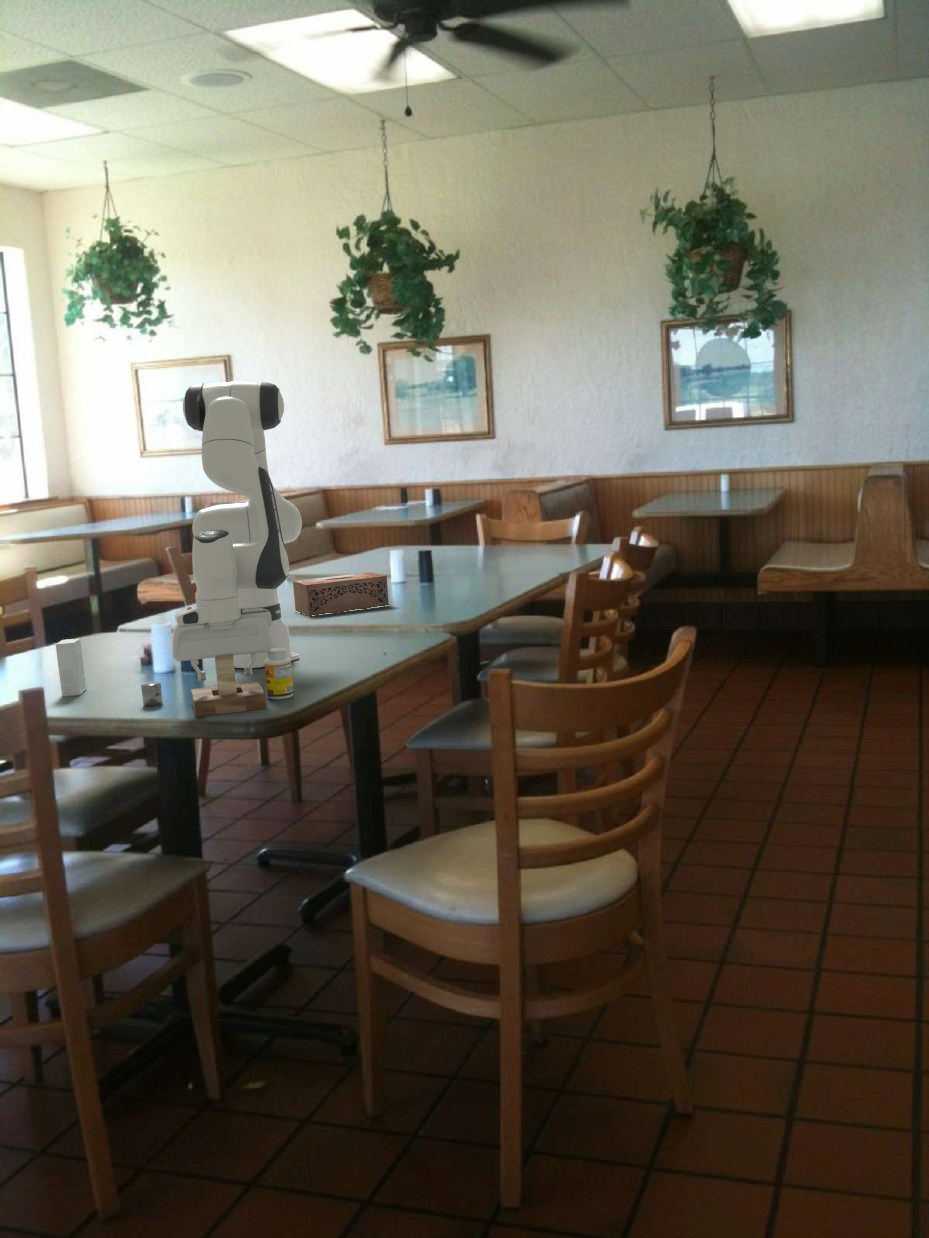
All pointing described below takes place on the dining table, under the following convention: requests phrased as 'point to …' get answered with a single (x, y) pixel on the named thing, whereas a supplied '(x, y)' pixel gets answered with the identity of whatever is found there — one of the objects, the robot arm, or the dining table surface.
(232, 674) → the long pin
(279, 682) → the supplement bottle
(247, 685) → the hole plate
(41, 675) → the dining table surface
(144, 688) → the short pin
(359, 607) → the tissue box cover
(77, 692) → the skincare box
